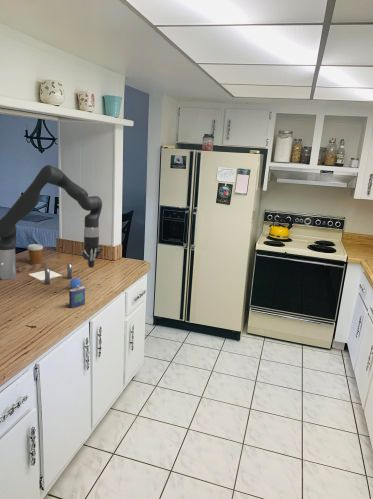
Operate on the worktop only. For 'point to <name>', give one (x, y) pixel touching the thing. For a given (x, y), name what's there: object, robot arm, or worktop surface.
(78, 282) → the ball
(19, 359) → the worktop surface
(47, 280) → the left post
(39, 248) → the disposable coffee cup
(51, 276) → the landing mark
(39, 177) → the robot arm
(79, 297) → the flask
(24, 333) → the worktop surface
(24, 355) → the worktop surface
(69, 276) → the right post
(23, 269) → the stopper wall
